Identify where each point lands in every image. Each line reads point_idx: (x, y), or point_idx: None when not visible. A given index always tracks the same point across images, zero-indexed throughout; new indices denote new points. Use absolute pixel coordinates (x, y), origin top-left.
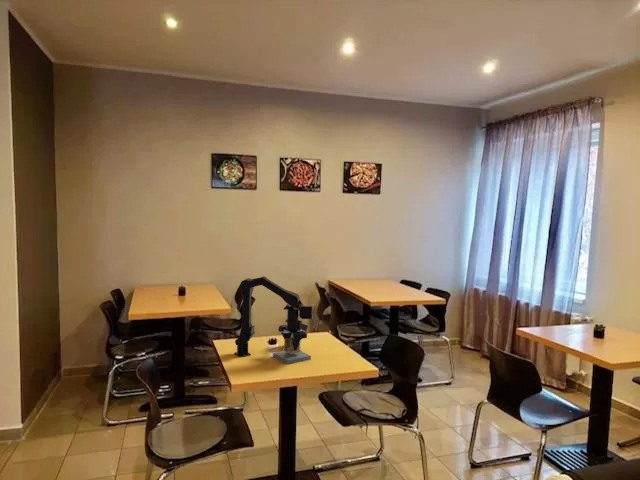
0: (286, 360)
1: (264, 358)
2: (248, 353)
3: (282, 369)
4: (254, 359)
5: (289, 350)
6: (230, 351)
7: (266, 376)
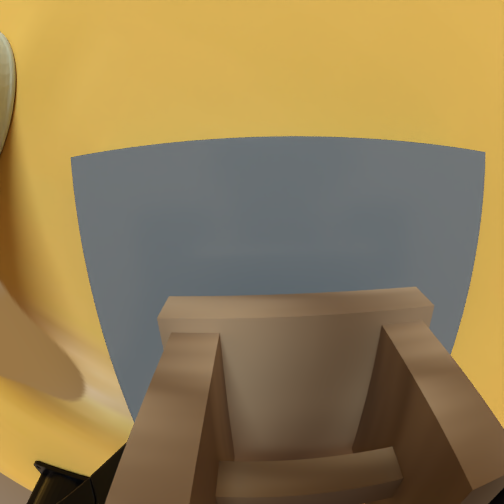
0: None
1: None
2: (79, 482)
3: None
4: None
5: (342, 448)
6: (30, 479)
7: None
